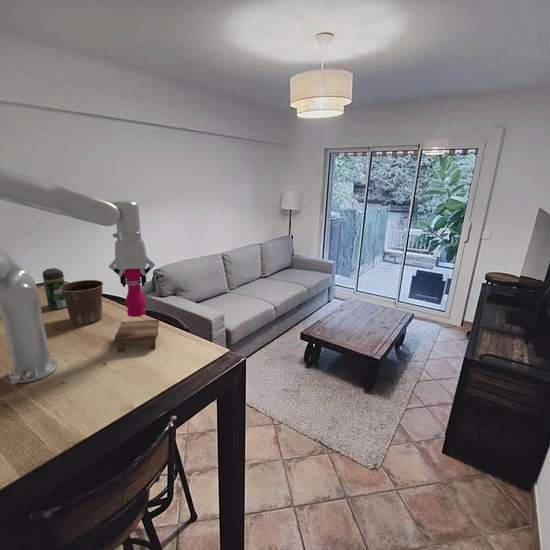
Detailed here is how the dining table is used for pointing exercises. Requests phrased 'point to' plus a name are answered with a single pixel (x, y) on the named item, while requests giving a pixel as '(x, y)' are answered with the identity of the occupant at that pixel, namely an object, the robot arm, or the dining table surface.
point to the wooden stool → (137, 333)
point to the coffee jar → (54, 288)
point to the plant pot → (83, 301)
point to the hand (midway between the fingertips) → (134, 284)
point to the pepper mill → (134, 293)
